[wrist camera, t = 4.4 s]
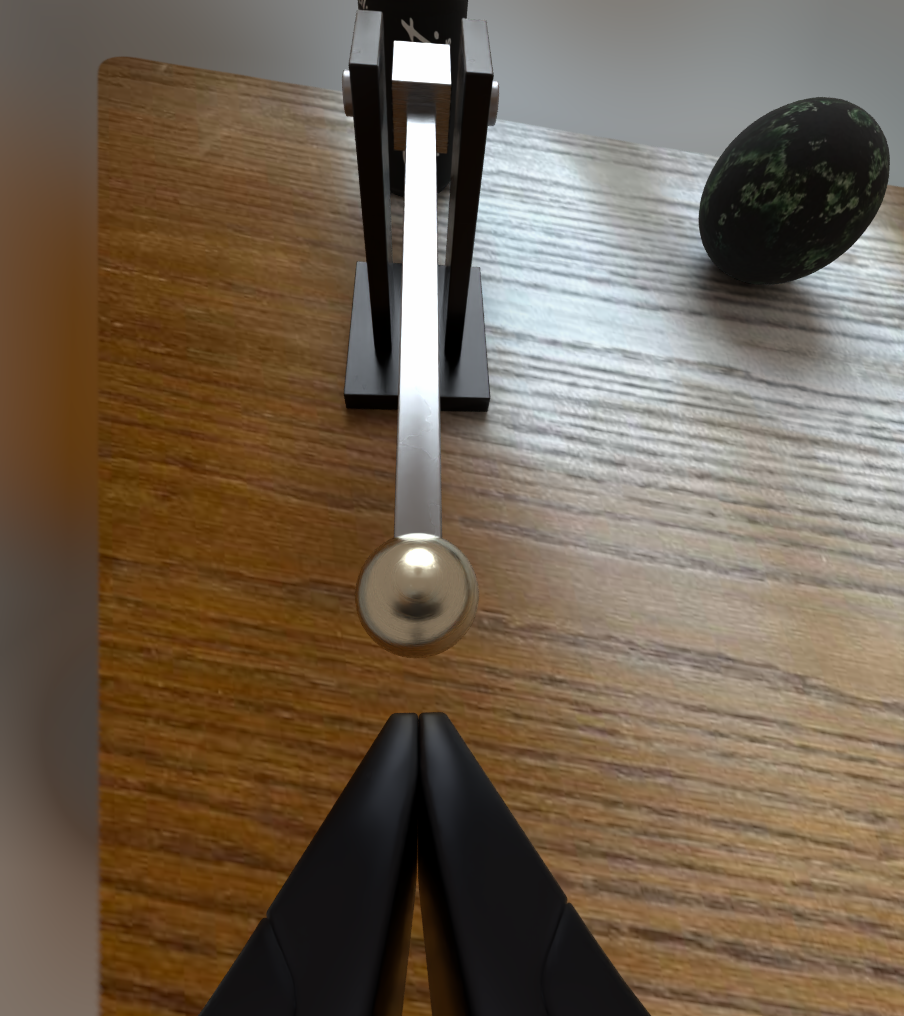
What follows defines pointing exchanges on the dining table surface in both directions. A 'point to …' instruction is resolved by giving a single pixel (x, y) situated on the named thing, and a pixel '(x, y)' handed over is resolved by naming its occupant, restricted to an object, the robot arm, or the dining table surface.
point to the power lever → (418, 394)
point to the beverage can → (423, 19)
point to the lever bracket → (379, 277)
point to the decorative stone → (794, 191)
